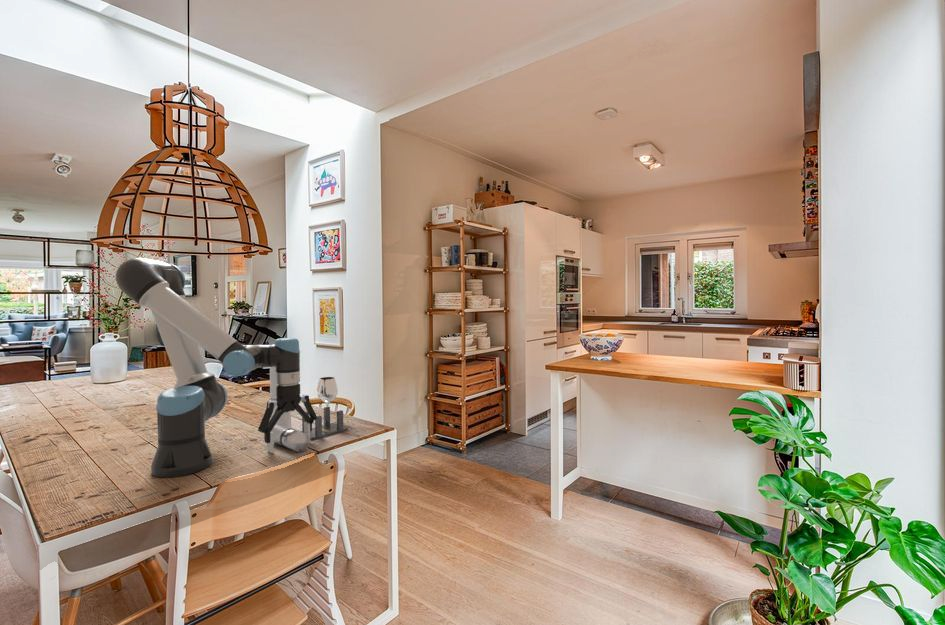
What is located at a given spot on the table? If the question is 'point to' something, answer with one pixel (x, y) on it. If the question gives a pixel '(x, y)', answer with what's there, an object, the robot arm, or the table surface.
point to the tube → (290, 438)
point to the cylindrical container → (286, 416)
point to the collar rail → (326, 425)
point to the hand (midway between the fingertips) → (289, 446)
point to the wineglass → (327, 391)
